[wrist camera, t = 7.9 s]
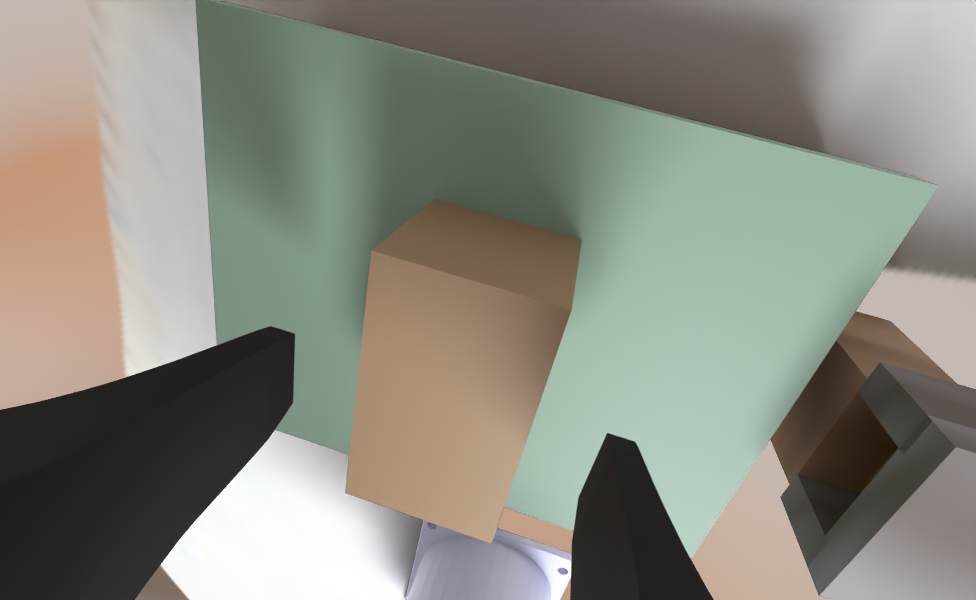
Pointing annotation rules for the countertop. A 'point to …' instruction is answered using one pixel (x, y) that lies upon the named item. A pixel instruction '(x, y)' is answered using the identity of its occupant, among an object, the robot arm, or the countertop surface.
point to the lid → (521, 271)
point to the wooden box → (882, 471)
